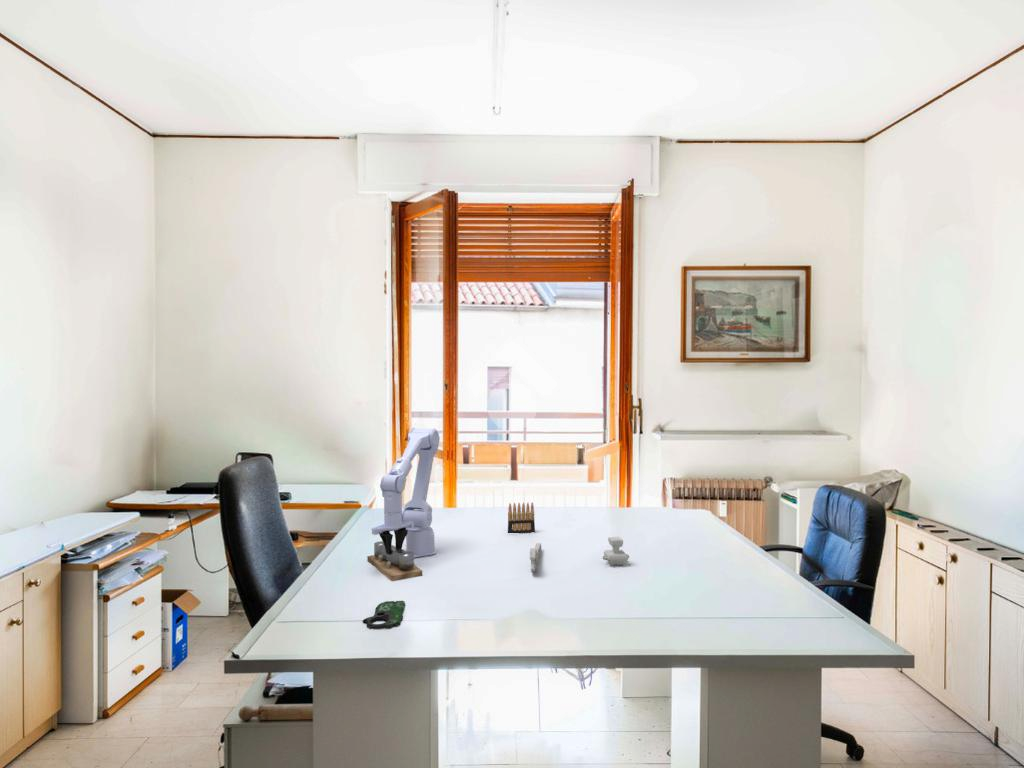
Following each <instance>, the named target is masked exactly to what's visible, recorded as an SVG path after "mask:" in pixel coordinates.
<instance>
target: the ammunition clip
mask: <svg viewBox="0 0 1024 768" xmlns="http://www.w3.org/2000/svg"><path fill="white" fill-rule="evenodd" d="M520 503H521V502H518V504H516V502H514V503H513V505H512V504H511V502H509V504H508V514H507V534H508V533H519V534H532V533H531V532H535V533H536V527H535V525H536V524H535V507H534V502H531V503H530V504H529V502H527V503H526V505H525V502H522V506H521V504H520Z"/></svg>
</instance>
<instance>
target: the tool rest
mask: <svg viewBox="0 0 1024 768" xmlns="http://www.w3.org/2000/svg"><path fill="white" fill-rule="evenodd" d="M366 559H367V562H369V563H370V565H372V566H373V568H376V569H377V570H378V571H379V572H380V573H381V574H383V575H384V576H385V577H387V578H388V579H389V580H390V581H391V582H393V581H394V582H395V581H399V580H405V579H409V578H410V579H411V578H415V577H421V576H423V570H422V569H421V568H419V567H418V566H417V565H415V564H414V567H412V568H407V569H403V568H399V565H396V564H394V563H392V562H391V561H388V560H385V559H383V558H382V555H379V557H375V556H374V554H373V555H367V556H366Z"/></svg>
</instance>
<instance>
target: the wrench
mask: <svg viewBox="0 0 1024 768" xmlns="http://www.w3.org/2000/svg"><path fill="white" fill-rule="evenodd" d="M541 553H542V543H539V542H538V543H537V542H536V543H535V546H534V547H530V550H529V560H530V572H532V573H537V569H538V567H537V566H538V560H539V558H540V555H541Z"/></svg>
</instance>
